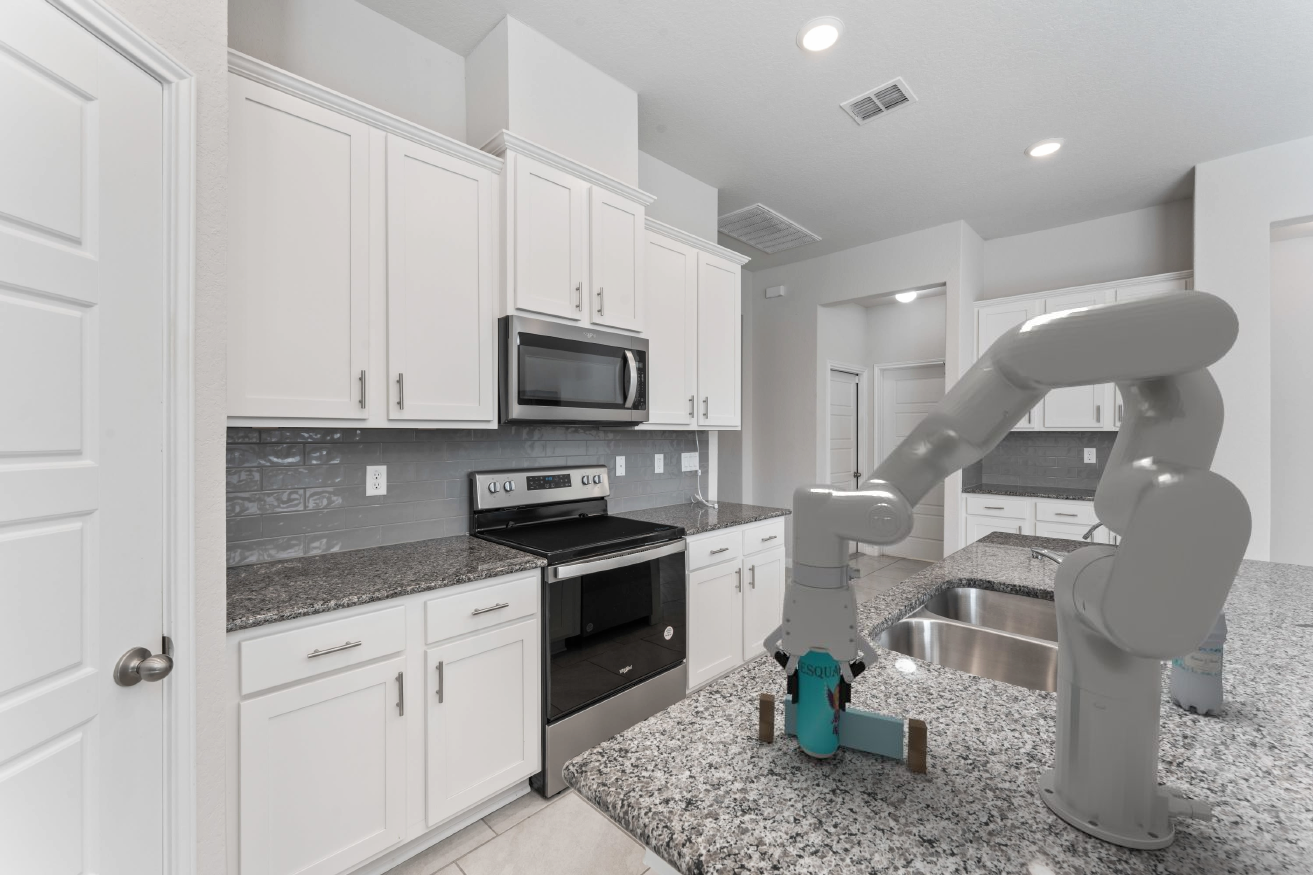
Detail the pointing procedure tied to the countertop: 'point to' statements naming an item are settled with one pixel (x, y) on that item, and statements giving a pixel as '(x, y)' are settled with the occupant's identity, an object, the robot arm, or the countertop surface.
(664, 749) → the countertop surface
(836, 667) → the beverage can
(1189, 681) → the bottle
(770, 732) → the twin wooden posts
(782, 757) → the countertop surface
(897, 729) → the gate door
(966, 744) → the countertop surface
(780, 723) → the countertop surface
